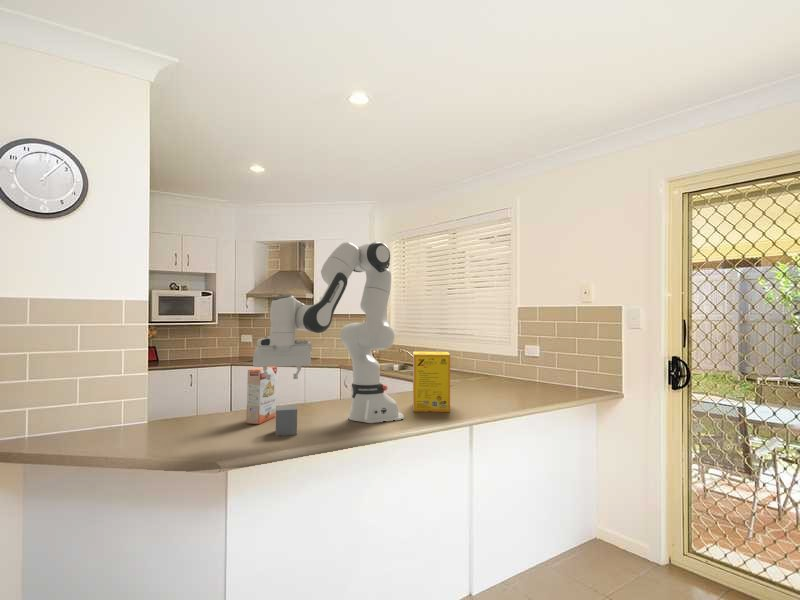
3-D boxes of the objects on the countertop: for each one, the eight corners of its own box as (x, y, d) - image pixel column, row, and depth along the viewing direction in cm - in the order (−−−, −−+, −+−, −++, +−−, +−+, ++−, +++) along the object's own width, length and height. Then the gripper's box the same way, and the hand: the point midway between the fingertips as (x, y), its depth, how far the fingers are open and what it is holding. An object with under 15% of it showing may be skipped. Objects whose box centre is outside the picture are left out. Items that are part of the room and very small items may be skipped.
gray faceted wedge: (295, 429, 172) (296, 405, 172) (296, 434, 165) (297, 409, 165) (275, 430, 170) (275, 406, 170) (275, 435, 163) (276, 410, 163)
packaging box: (413, 404, 222) (413, 351, 223) (447, 404, 222) (447, 351, 222) (412, 411, 206) (413, 354, 207) (450, 411, 205) (450, 354, 206)
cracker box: (260, 425, 179) (260, 370, 180) (245, 424, 180) (246, 369, 181) (276, 417, 193) (277, 366, 193) (263, 416, 194) (264, 365, 194)
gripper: (311, 339, 174) (310, 377, 173) (253, 340, 168) (252, 378, 168) (312, 340, 168) (312, 379, 167) (252, 341, 162) (252, 381, 162)
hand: (282, 379), depth 168 cm, fingers open, 8 cm apart
